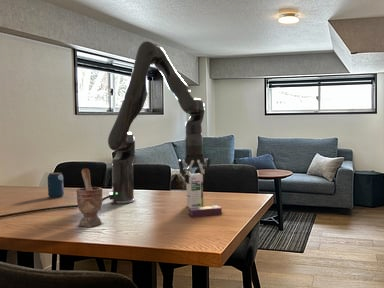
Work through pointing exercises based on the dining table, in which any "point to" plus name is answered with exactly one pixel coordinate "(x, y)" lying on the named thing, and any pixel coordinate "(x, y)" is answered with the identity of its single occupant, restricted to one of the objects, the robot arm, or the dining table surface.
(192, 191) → the syrup box
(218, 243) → the dining table surface
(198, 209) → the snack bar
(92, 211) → the mortar and pestle
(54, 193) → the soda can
